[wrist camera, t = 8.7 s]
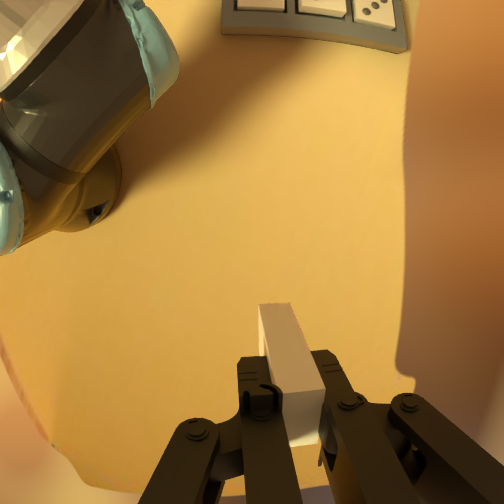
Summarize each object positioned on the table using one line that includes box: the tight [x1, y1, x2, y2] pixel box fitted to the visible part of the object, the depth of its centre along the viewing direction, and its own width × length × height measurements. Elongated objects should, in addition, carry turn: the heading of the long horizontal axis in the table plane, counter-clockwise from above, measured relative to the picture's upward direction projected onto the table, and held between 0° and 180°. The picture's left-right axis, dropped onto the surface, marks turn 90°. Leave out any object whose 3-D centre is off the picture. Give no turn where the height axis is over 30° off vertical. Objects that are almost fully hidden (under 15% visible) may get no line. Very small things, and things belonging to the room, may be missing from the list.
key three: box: [350, 0, 395, 30], centre depth 34 cm, size 6×6×2 cm
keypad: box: [221, 0, 407, 54], centre depth 34 cm, size 26×12×3 cm, turn 90°
